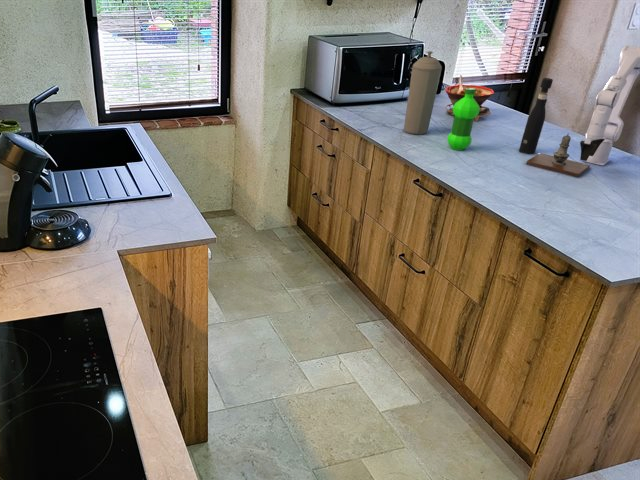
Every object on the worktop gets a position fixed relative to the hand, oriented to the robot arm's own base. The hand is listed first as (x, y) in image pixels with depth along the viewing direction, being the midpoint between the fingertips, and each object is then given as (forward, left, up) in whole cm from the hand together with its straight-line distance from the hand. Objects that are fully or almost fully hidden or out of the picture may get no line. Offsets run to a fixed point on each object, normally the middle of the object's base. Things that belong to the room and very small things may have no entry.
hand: (586, 157), depth 231 cm
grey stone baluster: (0, -9, -5) cm, 10 cm away
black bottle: (-9, -25, -6) cm, 28 cm away
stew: (-45, -71, -6) cm, 84 cm away
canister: (+1, -73, -6) cm, 74 cm away
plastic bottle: (+9, -48, -6) cm, 49 cm away
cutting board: (0, -9, -6) cm, 11 cm away
